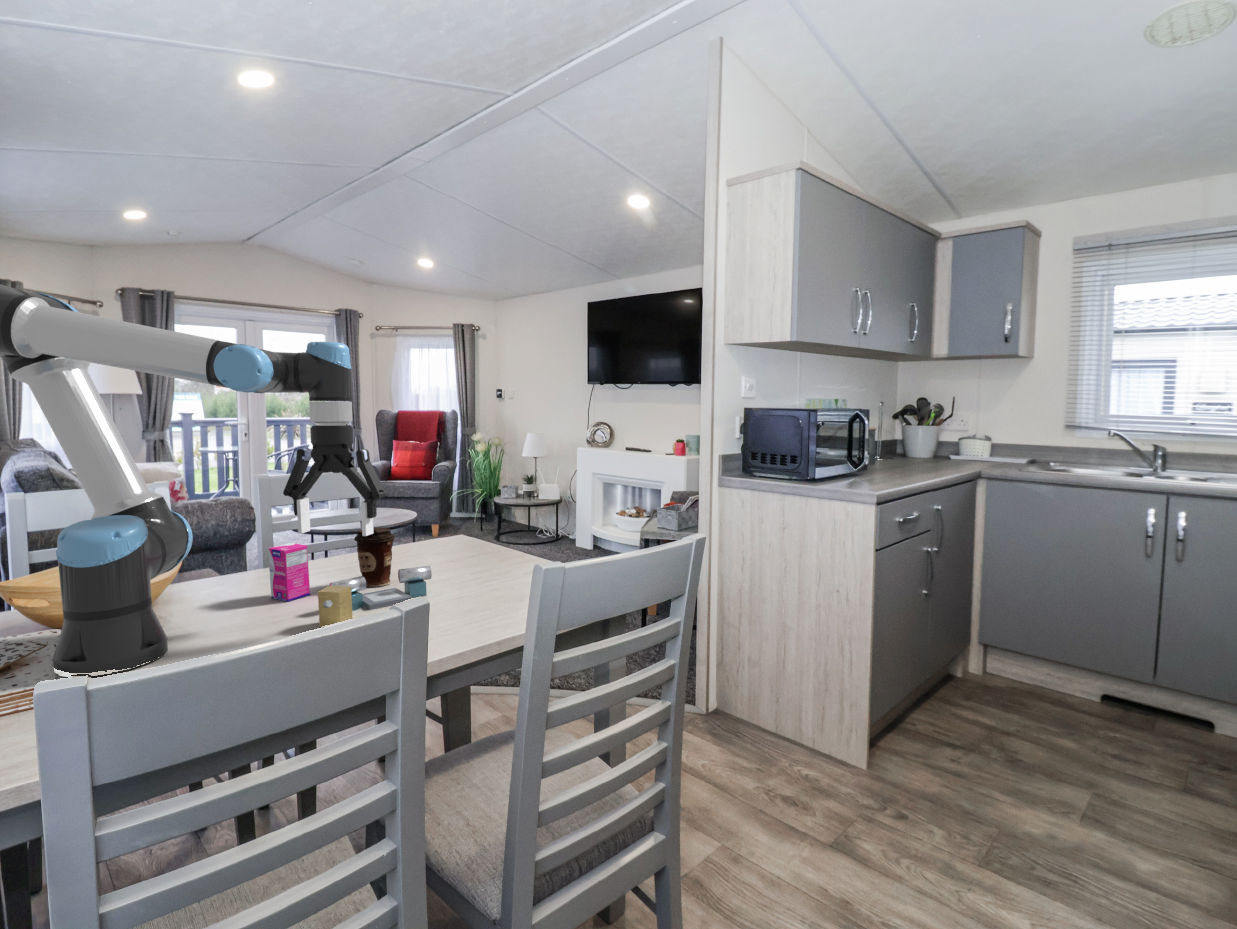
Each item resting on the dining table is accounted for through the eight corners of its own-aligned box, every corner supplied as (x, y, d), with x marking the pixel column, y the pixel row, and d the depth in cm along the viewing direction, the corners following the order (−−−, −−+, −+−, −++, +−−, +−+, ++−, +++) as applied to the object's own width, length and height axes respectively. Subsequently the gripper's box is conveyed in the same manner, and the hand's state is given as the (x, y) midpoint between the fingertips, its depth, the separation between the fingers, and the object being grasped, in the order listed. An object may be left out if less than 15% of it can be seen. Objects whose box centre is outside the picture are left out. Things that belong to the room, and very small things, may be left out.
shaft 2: (402, 599, 142) (401, 572, 142) (397, 593, 147) (396, 567, 146) (433, 594, 146) (432, 568, 145) (427, 589, 150) (426, 563, 149)
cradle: (369, 609, 135) (369, 604, 135) (354, 599, 142) (354, 595, 142) (411, 601, 141) (411, 596, 141) (395, 592, 148) (395, 587, 148)
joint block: (338, 630, 124) (336, 593, 123) (317, 628, 124) (315, 592, 124) (355, 620, 129) (353, 585, 128) (334, 619, 130) (332, 584, 129)
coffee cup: (369, 591, 149) (366, 534, 147) (349, 585, 154) (346, 530, 152) (402, 582, 155) (400, 528, 154) (382, 577, 160) (380, 524, 159)
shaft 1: (339, 613, 133) (338, 584, 132) (327, 609, 136) (326, 580, 135) (369, 606, 138) (368, 578, 137) (357, 601, 141) (356, 574, 140)
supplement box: (269, 599, 143) (266, 547, 142) (294, 591, 148) (291, 542, 147) (287, 602, 141) (284, 550, 139) (311, 595, 146) (308, 544, 145)
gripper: (401, 424, 127) (404, 532, 129) (286, 422, 131) (291, 527, 133) (381, 425, 120) (385, 539, 122) (259, 424, 124) (265, 534, 126)
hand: (335, 533), depth 128 cm, fingers open, 13 cm apart
